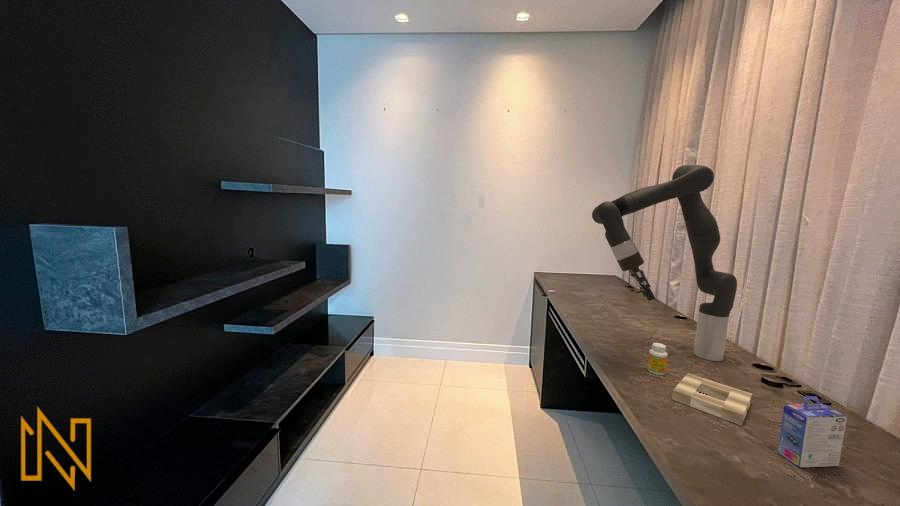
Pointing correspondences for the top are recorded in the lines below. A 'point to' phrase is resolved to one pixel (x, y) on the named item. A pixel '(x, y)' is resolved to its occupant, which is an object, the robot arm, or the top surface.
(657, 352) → the supplement bottle
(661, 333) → the top surface
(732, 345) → the top surface
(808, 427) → the ink cartridge box
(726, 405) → the light wooden square frame
